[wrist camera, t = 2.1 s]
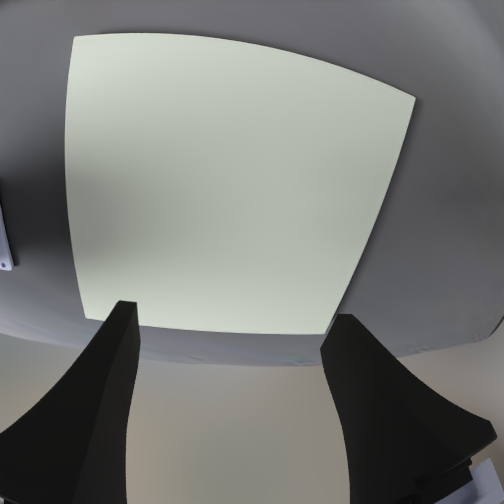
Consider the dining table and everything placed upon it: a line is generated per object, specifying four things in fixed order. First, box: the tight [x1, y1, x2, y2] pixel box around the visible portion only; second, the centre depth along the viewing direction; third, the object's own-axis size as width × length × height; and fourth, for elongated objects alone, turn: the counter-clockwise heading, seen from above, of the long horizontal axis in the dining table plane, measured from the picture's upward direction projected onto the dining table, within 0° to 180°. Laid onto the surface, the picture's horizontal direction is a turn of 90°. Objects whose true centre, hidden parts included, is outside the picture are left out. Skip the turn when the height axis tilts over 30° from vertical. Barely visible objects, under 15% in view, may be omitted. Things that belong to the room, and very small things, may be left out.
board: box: [65, 33, 416, 334], centre depth 18 cm, size 20×20×2 cm
